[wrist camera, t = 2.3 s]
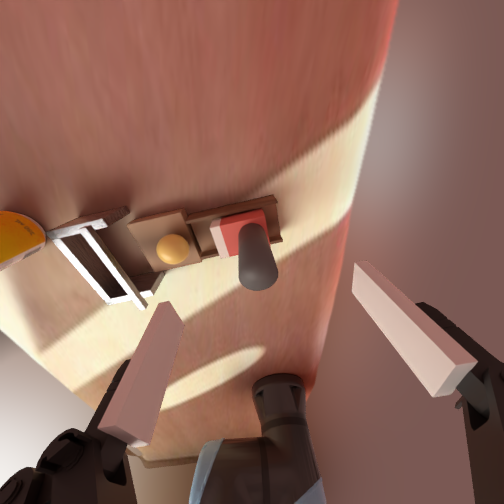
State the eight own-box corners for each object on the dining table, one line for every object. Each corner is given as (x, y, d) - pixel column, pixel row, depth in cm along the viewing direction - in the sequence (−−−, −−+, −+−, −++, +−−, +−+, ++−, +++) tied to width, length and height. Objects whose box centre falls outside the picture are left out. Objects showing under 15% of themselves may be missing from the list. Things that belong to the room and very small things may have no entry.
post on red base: (267, 237, 26) (284, 289, 17) (222, 247, 26) (213, 304, 17) (261, 208, 24) (278, 248, 14) (212, 219, 24) (196, 266, 15)
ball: (196, 251, 27) (190, 266, 23) (170, 256, 27) (160, 273, 23) (185, 226, 25) (177, 239, 21) (157, 232, 25) (144, 246, 21)
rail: (278, 232, 28) (282, 241, 26) (204, 249, 29) (201, 259, 26) (272, 194, 25) (276, 200, 23) (190, 213, 26) (185, 221, 23)
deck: (203, 255, 29) (201, 262, 28) (159, 265, 30) (155, 272, 28) (184, 207, 25) (180, 212, 24) (133, 219, 26) (126, 225, 24)
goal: (165, 274, 31) (145, 309, 24) (126, 283, 31) (96, 319, 25) (125, 206, 25) (85, 227, 18) (77, 217, 25) (21, 242, 19)
